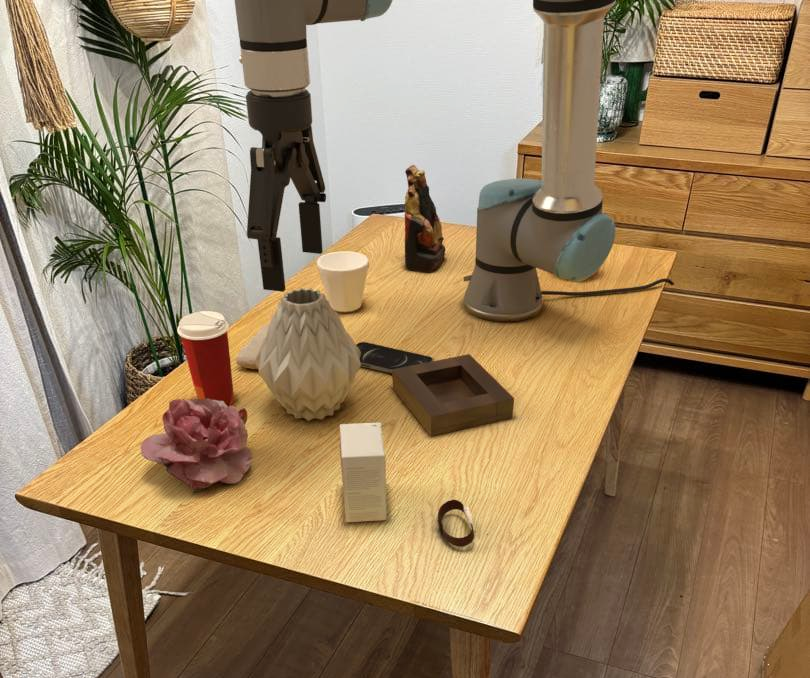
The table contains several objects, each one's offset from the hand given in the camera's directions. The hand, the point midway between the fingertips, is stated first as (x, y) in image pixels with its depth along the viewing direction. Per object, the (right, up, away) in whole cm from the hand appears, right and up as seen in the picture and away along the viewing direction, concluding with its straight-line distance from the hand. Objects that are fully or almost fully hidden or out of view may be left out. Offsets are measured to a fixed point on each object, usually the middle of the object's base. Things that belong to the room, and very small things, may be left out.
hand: (294, 270), depth 105 cm
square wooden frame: (+22, -14, +22) cm, 34 cm away
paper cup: (-16, -14, +23) cm, 31 cm away
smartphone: (+12, -5, +33) cm, 35 cm away
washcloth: (-6, -2, +36) cm, 37 cm away
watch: (+21, -35, -3) cm, 41 cm away
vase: (0, -15, +21) cm, 26 cm away
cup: (+3, +10, +51) cm, 52 cm away
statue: (+19, +25, +68) cm, 75 cm away
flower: (-14, -26, +9) cm, 31 cm away
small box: (+9, -31, +2) cm, 33 cm away
